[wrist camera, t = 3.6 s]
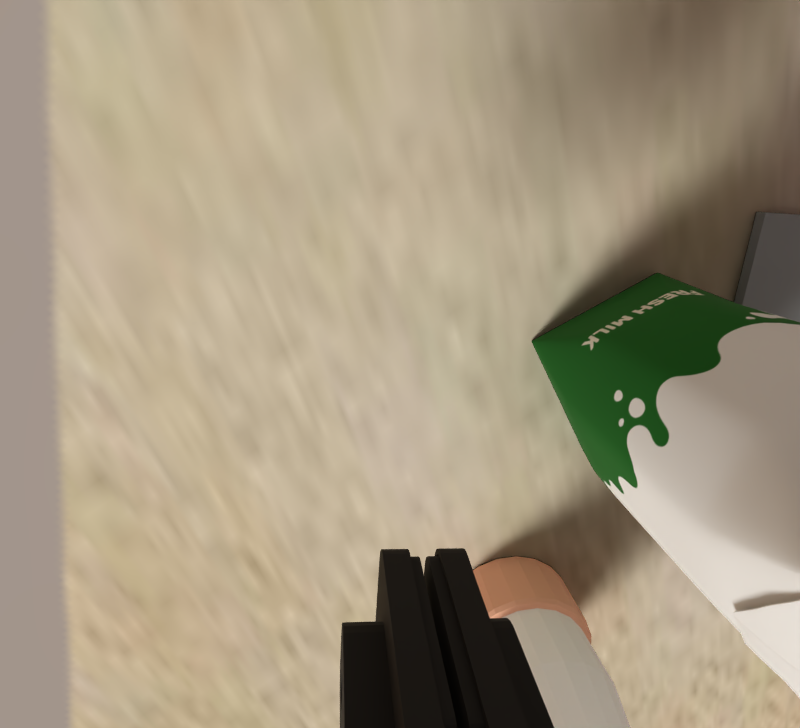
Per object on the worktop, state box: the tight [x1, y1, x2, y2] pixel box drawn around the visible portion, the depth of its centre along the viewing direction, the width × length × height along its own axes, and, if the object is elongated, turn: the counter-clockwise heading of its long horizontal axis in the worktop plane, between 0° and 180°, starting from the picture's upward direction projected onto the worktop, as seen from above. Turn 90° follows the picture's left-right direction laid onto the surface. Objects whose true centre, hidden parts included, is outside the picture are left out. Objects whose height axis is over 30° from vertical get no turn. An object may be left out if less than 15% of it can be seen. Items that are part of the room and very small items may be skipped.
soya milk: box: [532, 273, 800, 698], centre depth 19 cm, size 9×9×20 cm
